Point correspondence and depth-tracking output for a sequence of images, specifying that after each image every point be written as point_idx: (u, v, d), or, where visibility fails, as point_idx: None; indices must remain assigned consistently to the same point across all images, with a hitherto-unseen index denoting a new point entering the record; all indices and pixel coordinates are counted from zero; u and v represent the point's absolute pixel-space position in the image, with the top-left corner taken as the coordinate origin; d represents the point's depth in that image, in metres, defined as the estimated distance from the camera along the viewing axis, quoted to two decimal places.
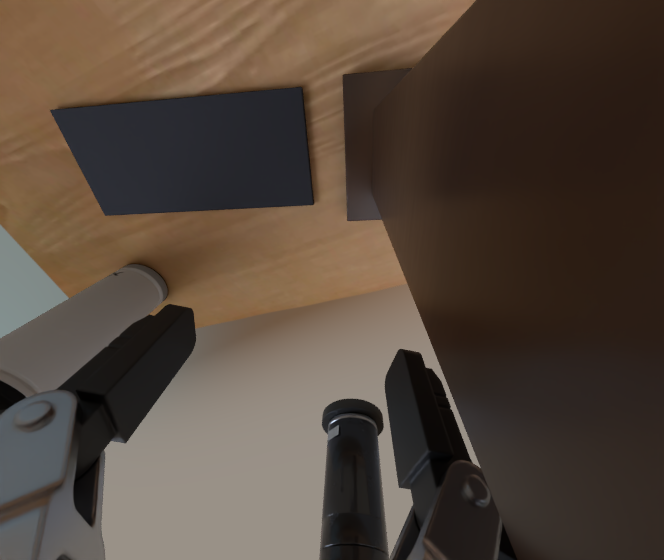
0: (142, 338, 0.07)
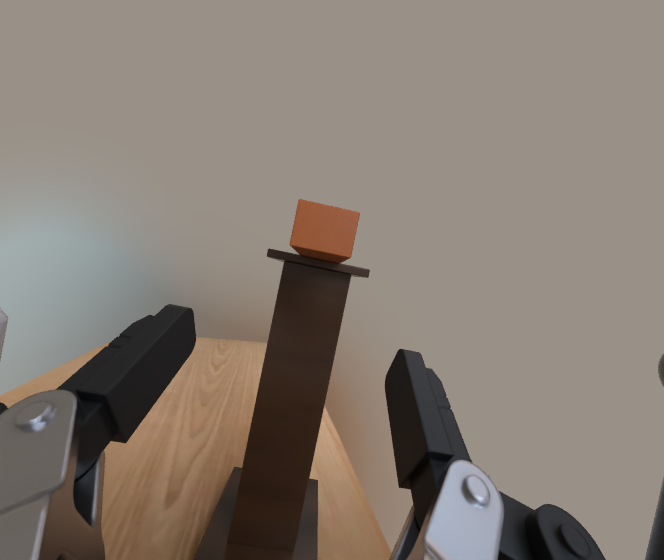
0: (142, 338, 0.07)
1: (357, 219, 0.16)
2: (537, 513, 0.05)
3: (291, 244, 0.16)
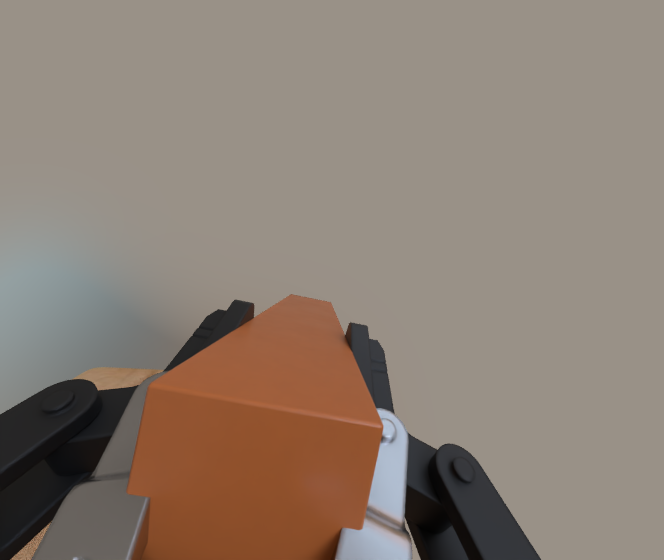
0: (223, 329, 0.08)
1: (374, 453, 0.04)
2: (436, 458, 0.06)
3: None
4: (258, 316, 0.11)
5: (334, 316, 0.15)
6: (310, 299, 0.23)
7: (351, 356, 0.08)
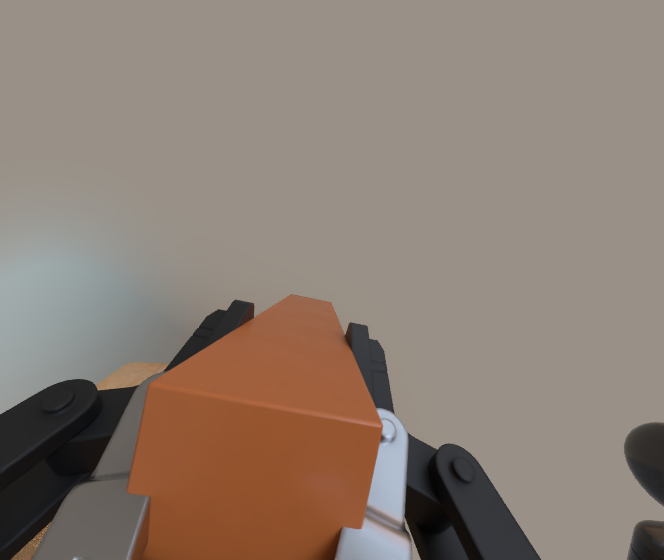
0: (223, 329, 0.08)
1: (374, 453, 0.04)
2: (435, 458, 0.06)
3: None
4: (258, 316, 0.11)
5: (334, 316, 0.15)
6: (310, 299, 0.23)
7: (351, 356, 0.08)
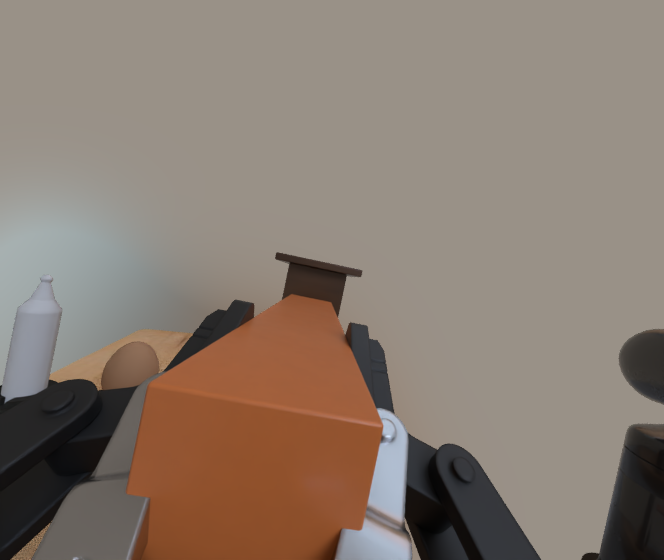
0: (223, 329, 0.08)
1: (374, 453, 0.04)
2: (436, 458, 0.06)
3: None
4: (258, 316, 0.11)
5: (334, 316, 0.15)
6: (310, 299, 0.23)
7: (351, 356, 0.08)
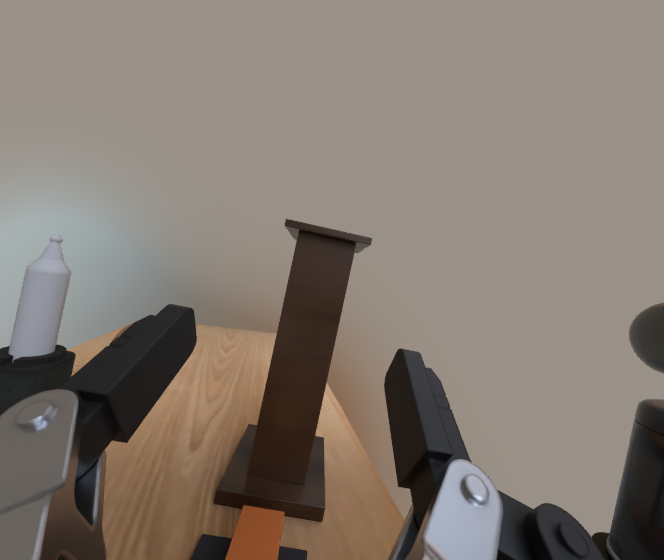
0: (143, 338, 0.07)
1: None
2: (536, 512, 0.05)
3: None
4: None
5: None
6: (261, 521, 0.22)
7: None
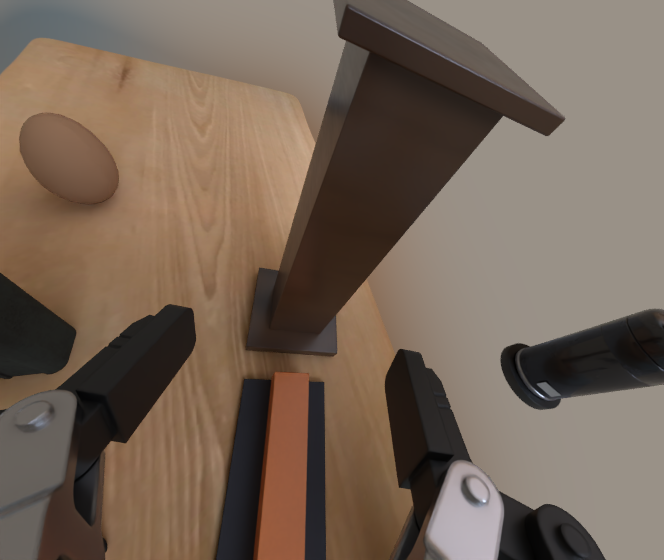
0: (142, 338, 0.07)
1: None
2: (537, 513, 0.05)
3: None
4: (261, 532, 0.21)
5: (305, 465, 0.25)
6: (291, 383, 0.28)
7: None
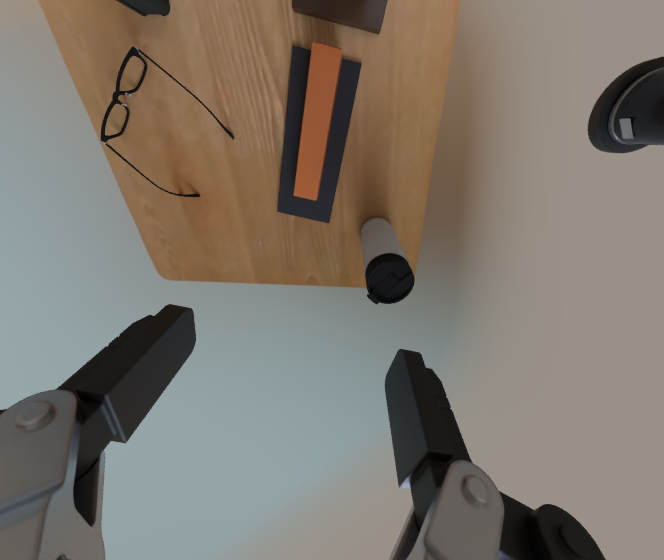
0: (142, 338, 0.07)
1: None
2: (537, 513, 0.05)
3: None
4: (299, 152, 0.39)
5: (327, 125, 0.37)
6: (325, 57, 0.33)
7: (319, 179, 0.41)
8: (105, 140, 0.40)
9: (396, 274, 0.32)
